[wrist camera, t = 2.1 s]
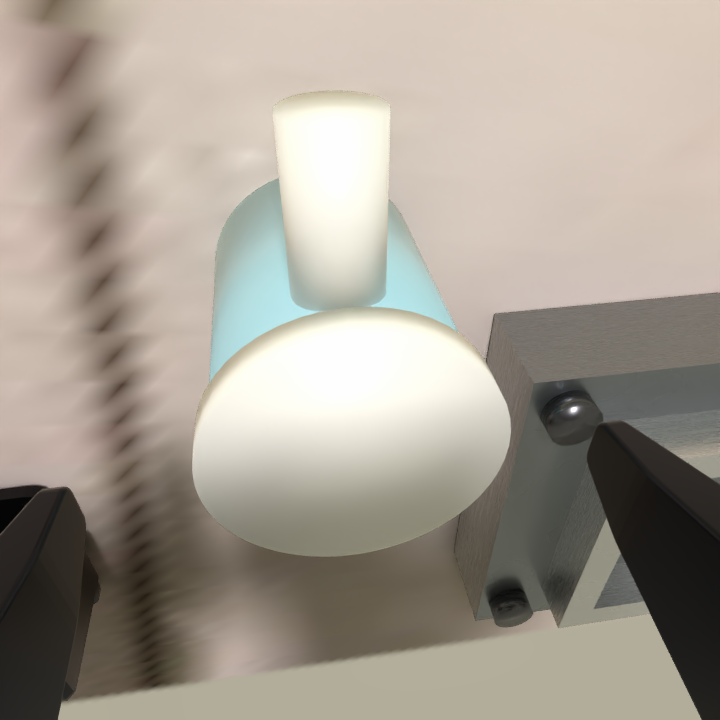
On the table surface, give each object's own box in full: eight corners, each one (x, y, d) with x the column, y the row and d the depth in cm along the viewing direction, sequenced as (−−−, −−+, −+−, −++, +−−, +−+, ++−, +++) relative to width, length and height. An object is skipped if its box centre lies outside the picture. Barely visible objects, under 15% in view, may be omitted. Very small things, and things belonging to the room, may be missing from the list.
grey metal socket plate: (454, 550, 25) (488, 661, 21) (494, 313, 17) (558, 426, 13) (740, 510, 26) (816, 607, 23) (898, 275, 18) (1048, 369, 15)
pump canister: (224, 360, 16) (221, 574, 11) (160, 39, 11) (102, 174, 6) (414, 339, 17) (488, 534, 12) (434, 27, 12) (577, 141, 7)
